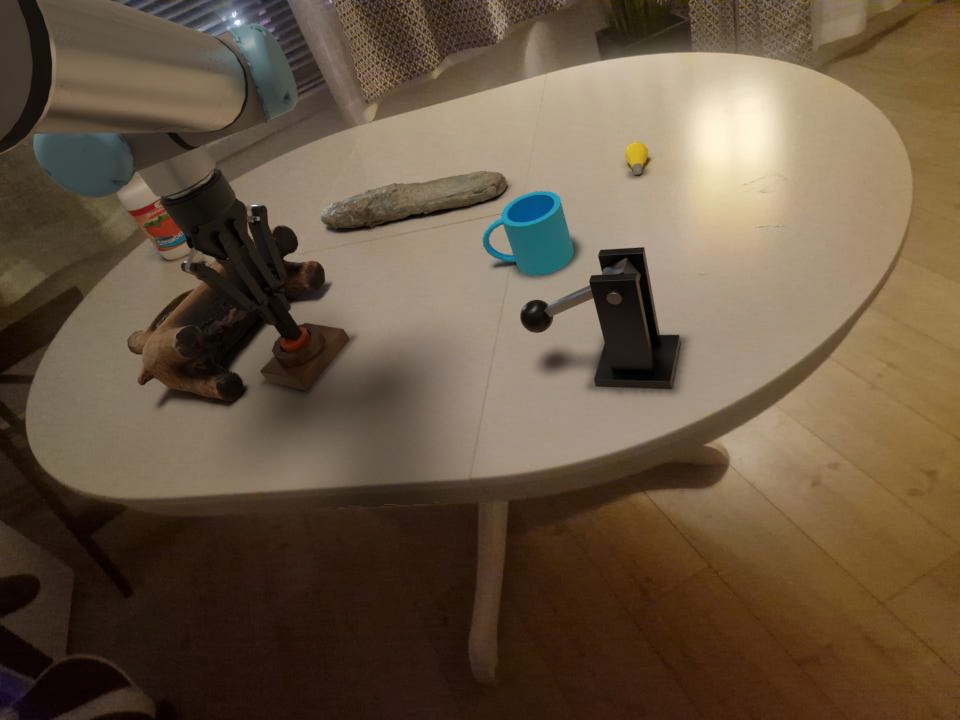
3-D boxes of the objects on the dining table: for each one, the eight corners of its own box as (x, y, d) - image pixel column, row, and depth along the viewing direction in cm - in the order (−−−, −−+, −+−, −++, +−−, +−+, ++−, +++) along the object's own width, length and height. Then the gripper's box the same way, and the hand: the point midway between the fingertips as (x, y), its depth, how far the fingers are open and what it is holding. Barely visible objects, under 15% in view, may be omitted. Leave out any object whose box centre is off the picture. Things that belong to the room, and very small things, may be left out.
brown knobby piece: (291, 199, 96) (194, 222, 110) (163, 358, 80) (69, 361, 94) (341, 262, 104) (245, 276, 118) (235, 419, 88) (137, 414, 102)
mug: (575, 235, 92) (562, 185, 87) (573, 270, 87) (559, 219, 81) (495, 251, 96) (478, 204, 91) (488, 285, 90) (469, 237, 85)
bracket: (595, 387, 70) (568, 288, 61) (608, 342, 75) (584, 244, 66) (671, 389, 67) (653, 286, 58) (680, 342, 71) (665, 239, 62)
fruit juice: (196, 230, 139) (108, 105, 121) (212, 239, 132) (122, 109, 114) (158, 255, 135) (61, 130, 117) (173, 265, 129) (73, 135, 111)
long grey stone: (504, 213, 105) (513, 184, 113) (497, 183, 102) (507, 156, 109) (316, 239, 116) (335, 211, 123) (304, 213, 113) (324, 185, 120)
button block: (306, 391, 86) (292, 370, 83) (267, 382, 90) (252, 362, 88) (350, 340, 91) (337, 319, 89) (311, 333, 96) (298, 313, 93)
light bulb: (644, 154, 102) (649, 136, 99) (646, 182, 99) (651, 165, 96) (623, 153, 102) (626, 136, 99) (624, 182, 100) (628, 164, 97)
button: (300, 358, 87) (293, 348, 86) (280, 354, 89) (273, 345, 88) (318, 337, 89) (312, 328, 88) (298, 334, 91) (292, 325, 90)
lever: (530, 343, 71) (509, 321, 70) (539, 321, 73) (519, 300, 72) (639, 298, 62) (617, 272, 60) (645, 274, 64) (624, 248, 62)
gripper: (208, 152, 78) (303, 301, 93) (125, 215, 71) (242, 365, 86) (247, 150, 74) (340, 306, 89) (163, 217, 67) (279, 373, 82)
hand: (292, 335), depth 88 cm, fingers closed
